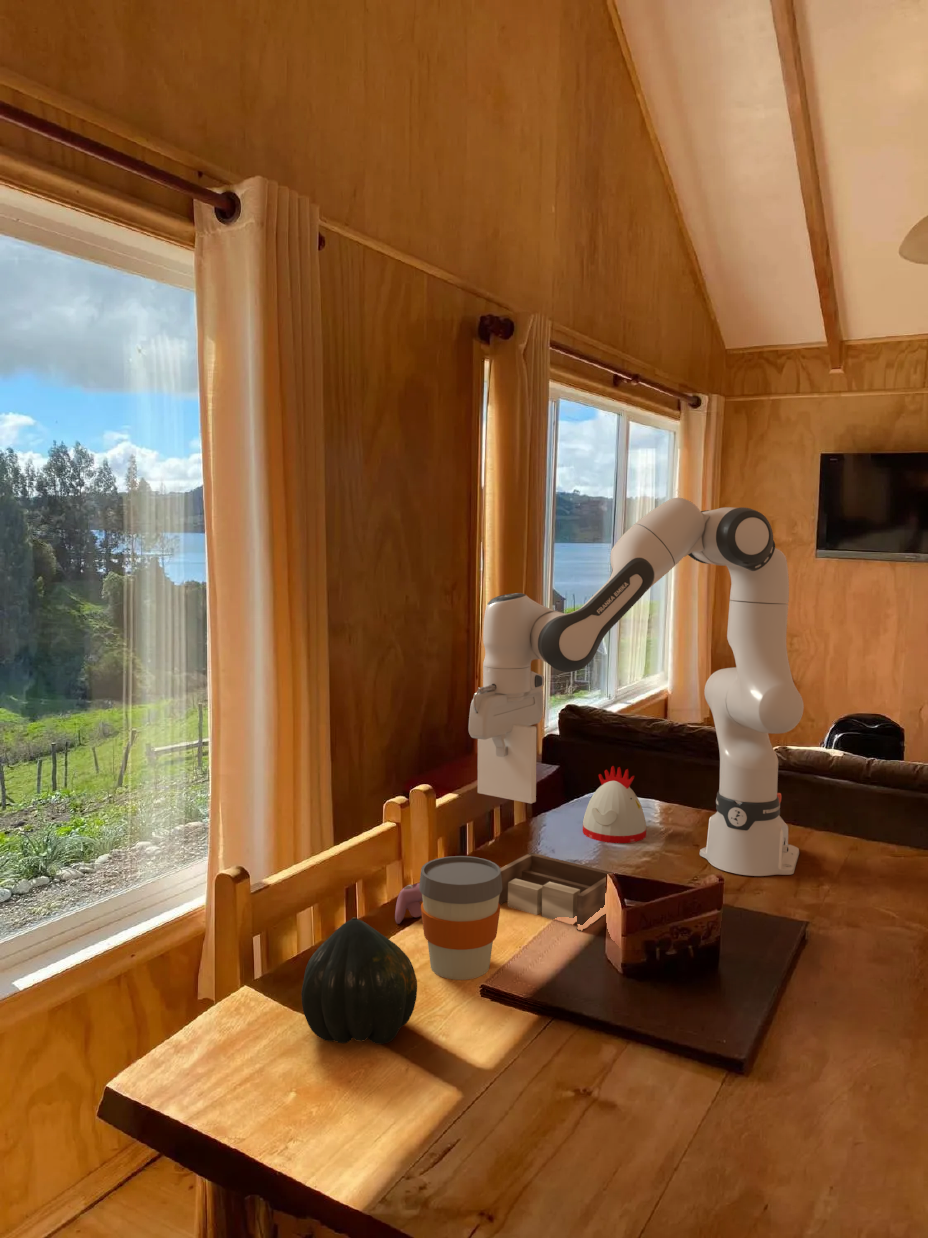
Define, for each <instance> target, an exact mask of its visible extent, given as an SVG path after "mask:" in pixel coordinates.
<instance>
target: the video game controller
mask: <svg viewBox="0 0 928 1238" xmlns="http://www.w3.org/2000/svg"><path fill="white" fill-rule="evenodd" d="M419 884H420V882H417V883H413V884H408V885H406V886H404V887H403V888H402V889H401V890H400V891H399V893H398V895H397V900H396V903H395V904H396V905H395V913H394V919H395V923H396V924H401V923H402V921H403V920H404V918H405V914H406V910H408V911H409V914H410V916H411V917H413V918H420V917H422V913H421V904H422V903H420V902H423V899H422V893H421V892H420V890H419Z"/></svg>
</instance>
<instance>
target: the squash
mask: <svg viewBox="0 0 928 1238" xmlns="http://www.w3.org/2000/svg"><path fill="white" fill-rule="evenodd" d="M303 976H304V977H303V982H302V987H301V993H300V994H301V1006H302V1011H303V1015H304V1018H305V1021H306V1022H307V1024H308V1027H309V1029H310V1030H311V1032H312V1033H314V1035H315V1036H317V1038H320V1039H321V1040H324V1041H328V1042H337V1043H340V1044H346V1043H348V1042H350V1041H351V1040H352V1039H353V1040H355V1041H357V1042H363V1041H366V1040H369V1042H371V1043H373V1044H378V1045H383V1044H387V1043H390V1042H392V1041H393V1040H394V1039H395V1038H396V1036H397V1035H398V1033H399V1031H400V1029H401V1028H402V1027H404V1026H405V1025H406V1024H407V1023H408V1022H409V1021H410V1019H411V1017H412V1015H413V1012H414V1010H415V1005H416V1002H417V993H418V980H417V976H416V972H415V968H414V966H413V964H412V961H411V959H410V958H409V957H408V955H407V954H406V953H405V952H404V951H403V949H402V948H401V947H399V946H398V944H396V943H395V942H393V941H392V940H391V939H389V938H388V937H386V936H385V935H383V934H382V933H381V932H379V931H378V930H376V929H375V928H374V927H372V926H370V925H369V924H368V923H366V922H364V921H363V920H361V919H358V917H354V916H353V917H351V919H349V920H348V921H345V922H344V923H343V924H341V926H340V927H339V928H337V929H336V930H335V931H334V932H333V933H332V934H331V935H330V936H329V937H328V938H327V939H326V940H325V941H323V942H322V944H321V945H319V946H318V948H317V949H316V951H314V953H313V954H312V955H311V957H310V958H309V960H308V962H307V964H306V966H305V971H304V975H303Z"/></svg>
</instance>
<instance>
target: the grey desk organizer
mask: <svg viewBox="0 0 928 1238" xmlns="http://www.w3.org/2000/svg"><path fill="white" fill-rule="evenodd" d="M500 870H501V878H502V892H501V893H500V895H499V902H498V903H499V904H500V905H502V904H504V903H506V902H508V882H510V881H511V880H513V879H515V878H516V879H520V880H523V881H527V882H531V883H535V884H539V885H542V886H543V885H545V884H546V883H548V882H553V883H557V884H561V885H565V886H568V887H572V888H576V889H580V894H578V895H577V923H576V925H577V924H580V925H583V924H584V923H585V922H586V921H587V920H588V919H589V918H590V917H592V916H593V915H594V914H595V913H596V912H598V911H599V910H600V908H603V907H604V905H605V893H606V888H605V886H606V875H607V874H608V873H615V874H618V875H619V873H618V872H612V871H608V870H603V869H600V868H596V867H591V866H588V865H583V864H580V863H575V862H571V861H567V860H563V859H558V858H554V857H550V856H546V855H542V854H538V853H536V852H529V853H527V854H525V855H523V856H521V857H519V858H517V859H515V860H514V861H512V862H510V863H508V864H506V865H504V866H502V867H500Z"/></svg>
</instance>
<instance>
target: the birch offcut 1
mask: <svg viewBox="0 0 928 1238" xmlns="http://www.w3.org/2000/svg"><path fill="white" fill-rule="evenodd" d="M507 908H511V909H514V910H518V911H522V912H525V913H529V914H532V915H534V916H538V915H539V914H542V885H539V884H535V883H531V882H527V881H523V880H520V879H516V878H515V879H513V880H511V881H510V882H508V900H507Z"/></svg>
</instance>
